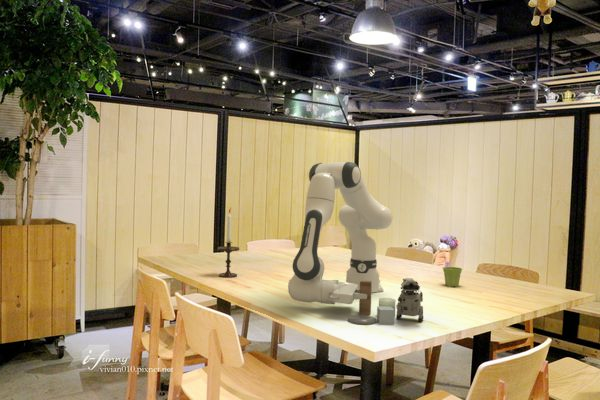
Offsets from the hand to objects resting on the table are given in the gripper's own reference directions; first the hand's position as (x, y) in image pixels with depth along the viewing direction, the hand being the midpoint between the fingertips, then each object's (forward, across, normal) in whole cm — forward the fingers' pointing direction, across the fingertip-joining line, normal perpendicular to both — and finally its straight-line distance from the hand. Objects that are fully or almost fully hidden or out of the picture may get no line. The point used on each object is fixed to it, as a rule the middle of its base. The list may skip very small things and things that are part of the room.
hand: (367, 294), depth 187 cm
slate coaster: (-1, -11, +7) cm, 13 cm away
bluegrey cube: (+7, -10, +7) cm, 14 cm away
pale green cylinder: (+7, -1, +7) cm, 10 cm away
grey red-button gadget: (+15, -6, +7) cm, 18 cm away
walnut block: (-1, 0, +7) cm, 7 cm away
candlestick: (-75, +54, +7) cm, 93 cm away
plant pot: (+35, +69, +7) cm, 78 cm away
